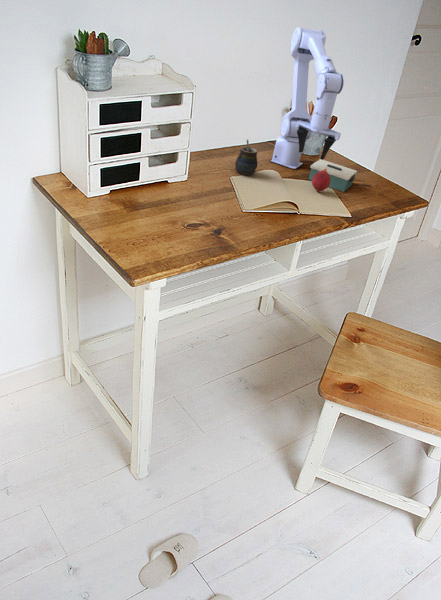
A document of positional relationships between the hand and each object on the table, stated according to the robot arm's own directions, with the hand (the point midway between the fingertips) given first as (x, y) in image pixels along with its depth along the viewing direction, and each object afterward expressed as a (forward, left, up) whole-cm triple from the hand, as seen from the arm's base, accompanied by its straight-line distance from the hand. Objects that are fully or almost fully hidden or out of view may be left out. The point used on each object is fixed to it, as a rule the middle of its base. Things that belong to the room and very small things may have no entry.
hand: (311, 155), depth 181 cm
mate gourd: (-18, -10, -10) cm, 23 cm away
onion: (+7, -4, -10) cm, 12 cm away
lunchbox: (+7, +8, -9) cm, 14 cm away
